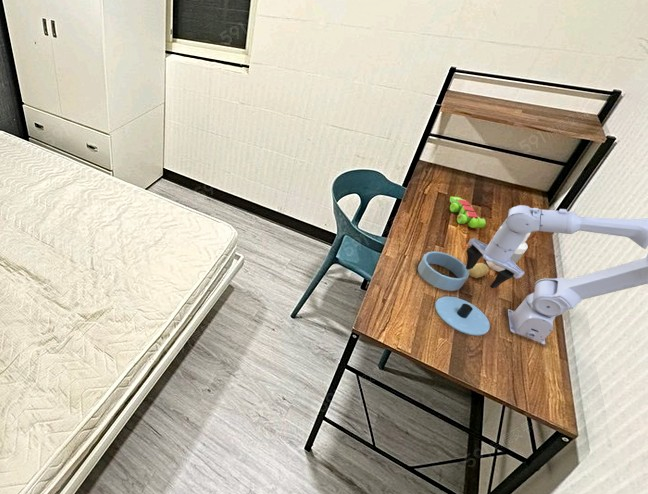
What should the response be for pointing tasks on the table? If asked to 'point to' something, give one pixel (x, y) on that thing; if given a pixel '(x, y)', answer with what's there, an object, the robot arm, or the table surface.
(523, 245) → the spray bottle
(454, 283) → the pot
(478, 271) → the potato
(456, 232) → the table surface
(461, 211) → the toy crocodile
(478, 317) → the lid
